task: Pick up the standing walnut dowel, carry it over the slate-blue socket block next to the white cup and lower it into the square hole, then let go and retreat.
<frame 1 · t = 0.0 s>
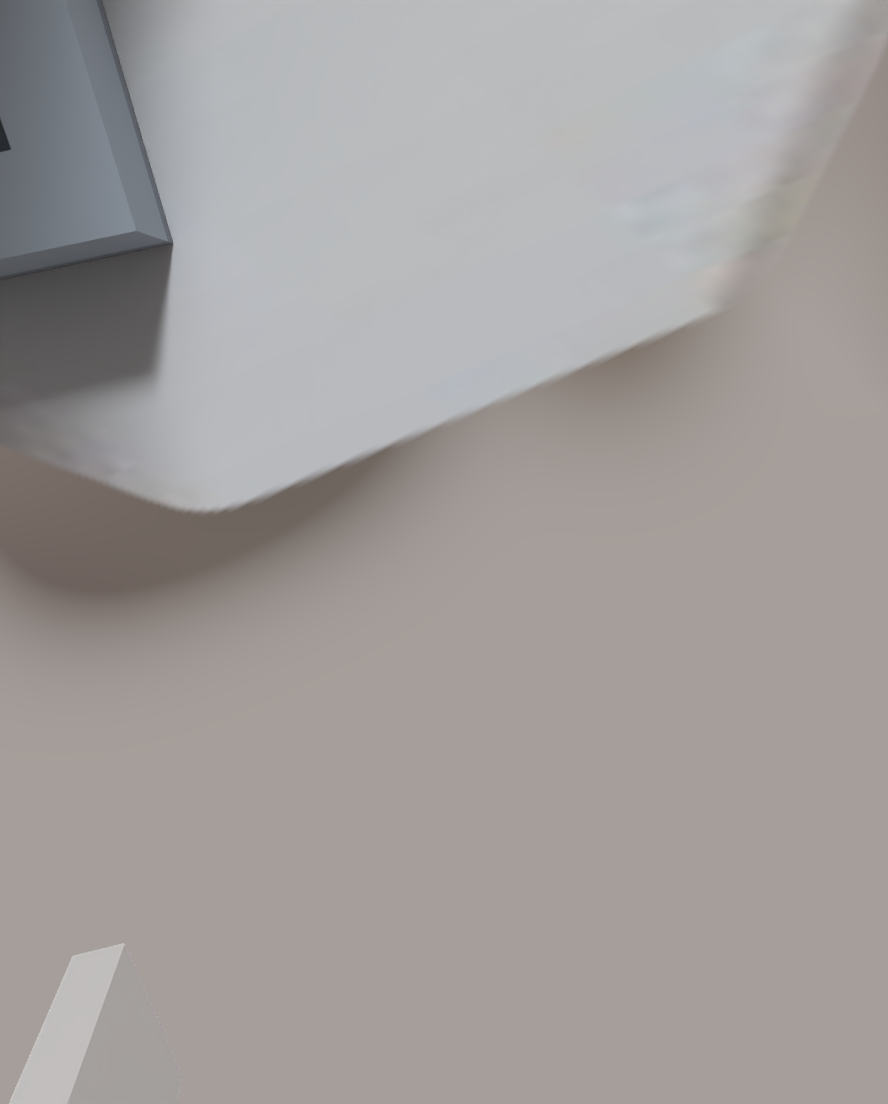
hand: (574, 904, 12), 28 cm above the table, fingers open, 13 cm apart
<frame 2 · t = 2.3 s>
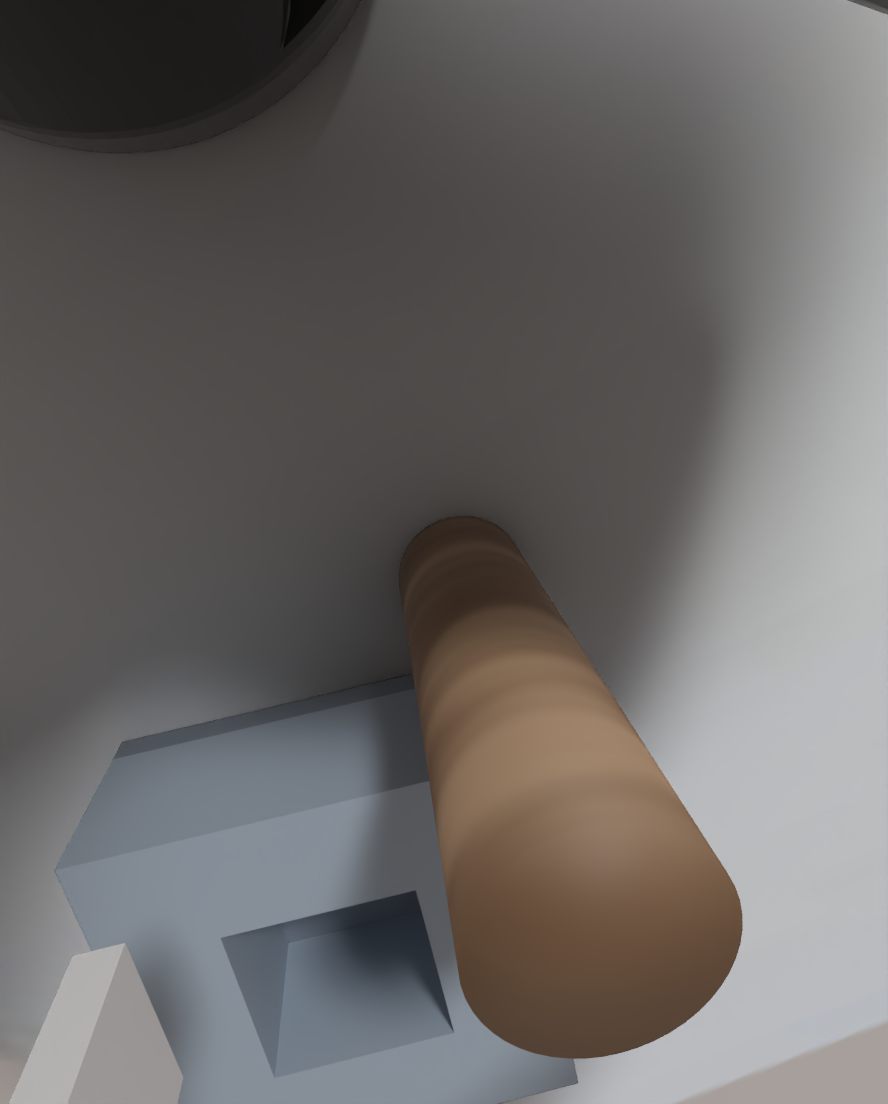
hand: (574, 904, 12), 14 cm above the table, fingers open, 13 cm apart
walnut dowel: (461, 576, 25), on the table
socket block: (345, 845, 27), on the table
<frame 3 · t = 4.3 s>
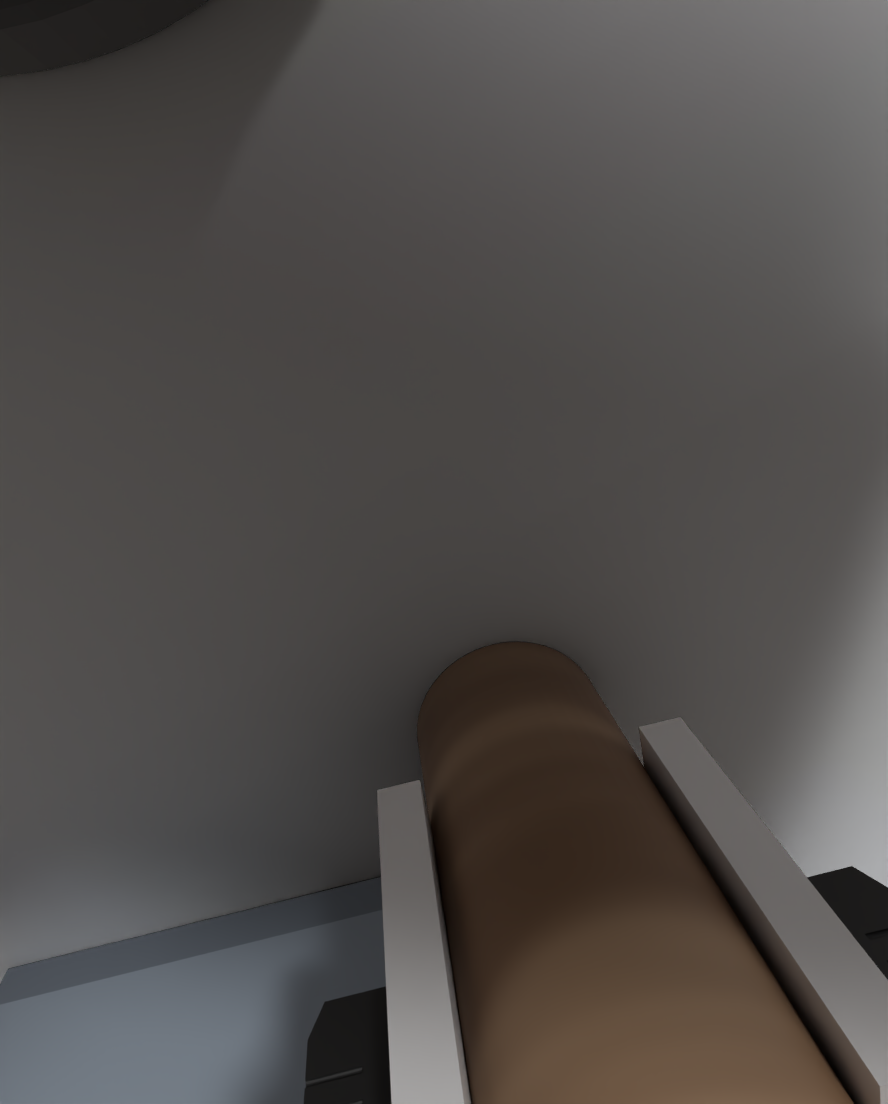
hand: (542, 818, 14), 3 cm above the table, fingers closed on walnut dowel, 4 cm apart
walnut dowel: (509, 726, 17), on the table, touching gripper
socket block: (338, 1090, 19), on the table
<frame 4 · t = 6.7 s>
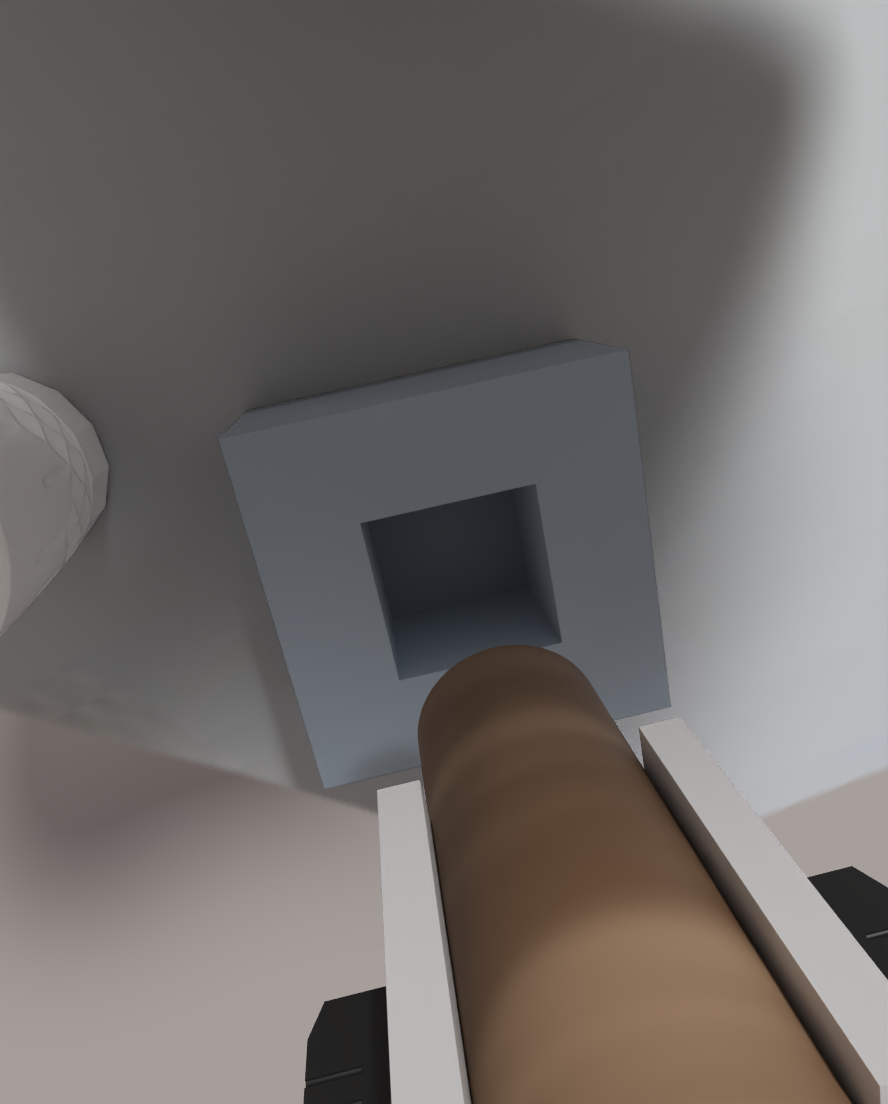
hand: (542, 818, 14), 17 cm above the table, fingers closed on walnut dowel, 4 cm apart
walnut dowel: (509, 729, 17), point 14 cm above the table, touching gripper
socket block: (444, 530, 30), on the table
white cup: (13, 466, 27), on the table
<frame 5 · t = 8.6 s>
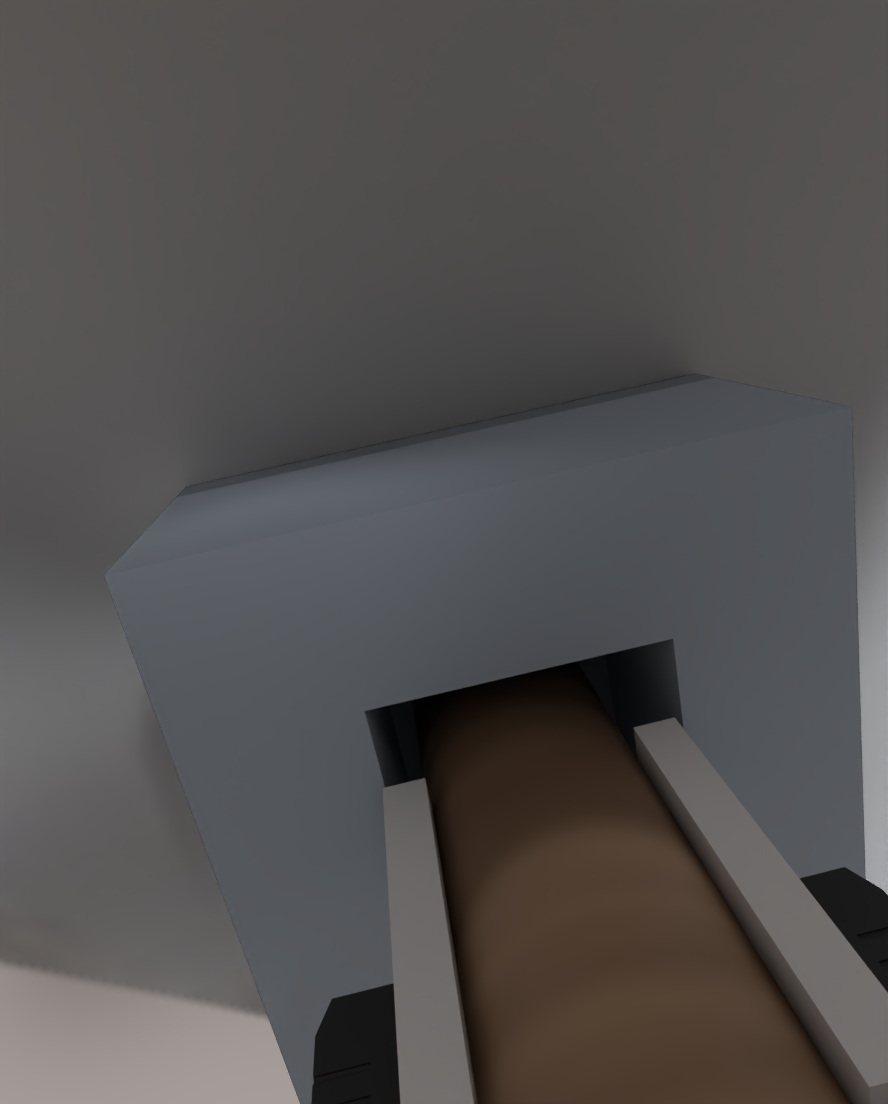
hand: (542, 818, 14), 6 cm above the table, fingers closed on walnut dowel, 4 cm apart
walnut dowel: (497, 695, 18), point 2 cm above the table, touching gripper
socket block: (490, 659, 20), on the table
when the fingers open (6 cm above the table, at t = 9.2 s): walnut dowel stays where it is, resting on socket block.
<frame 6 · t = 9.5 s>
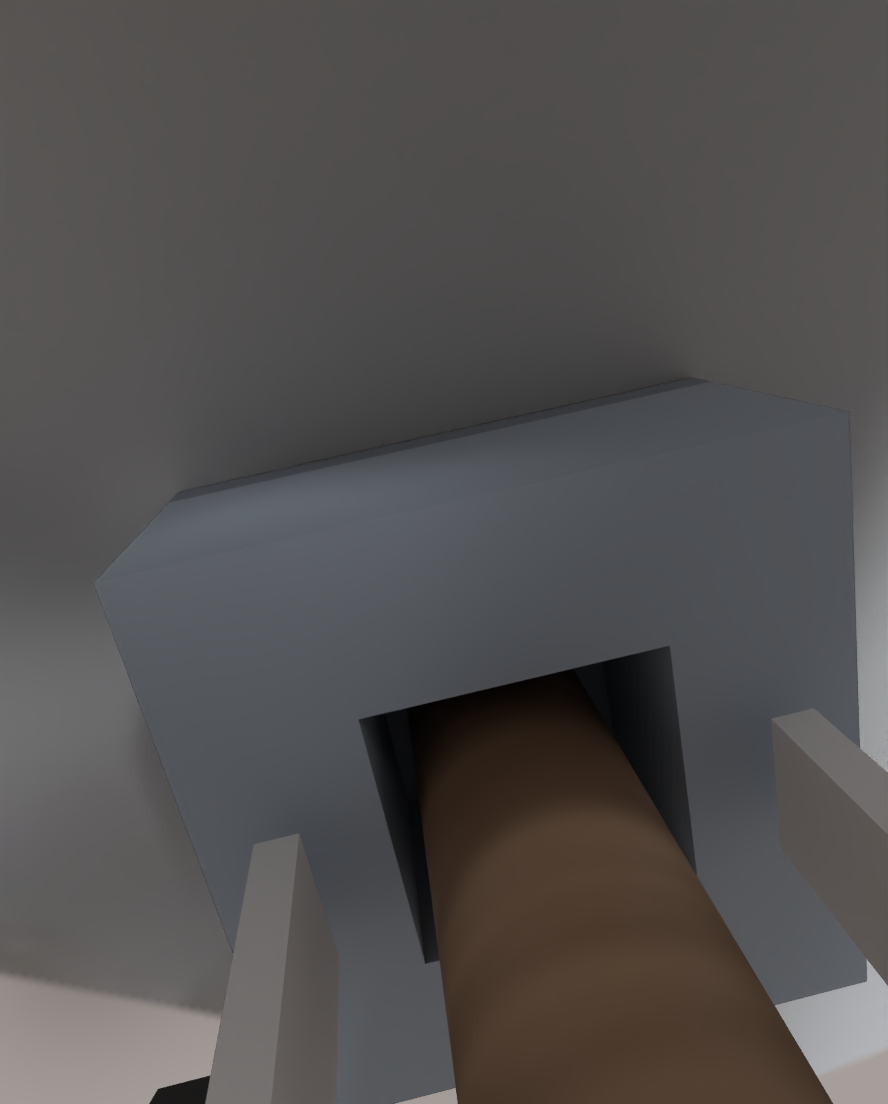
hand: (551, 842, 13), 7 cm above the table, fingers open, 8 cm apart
walnut dowel: (488, 688, 19), point 1 cm above the table, touching socket block
socket block: (486, 665, 19), on the table
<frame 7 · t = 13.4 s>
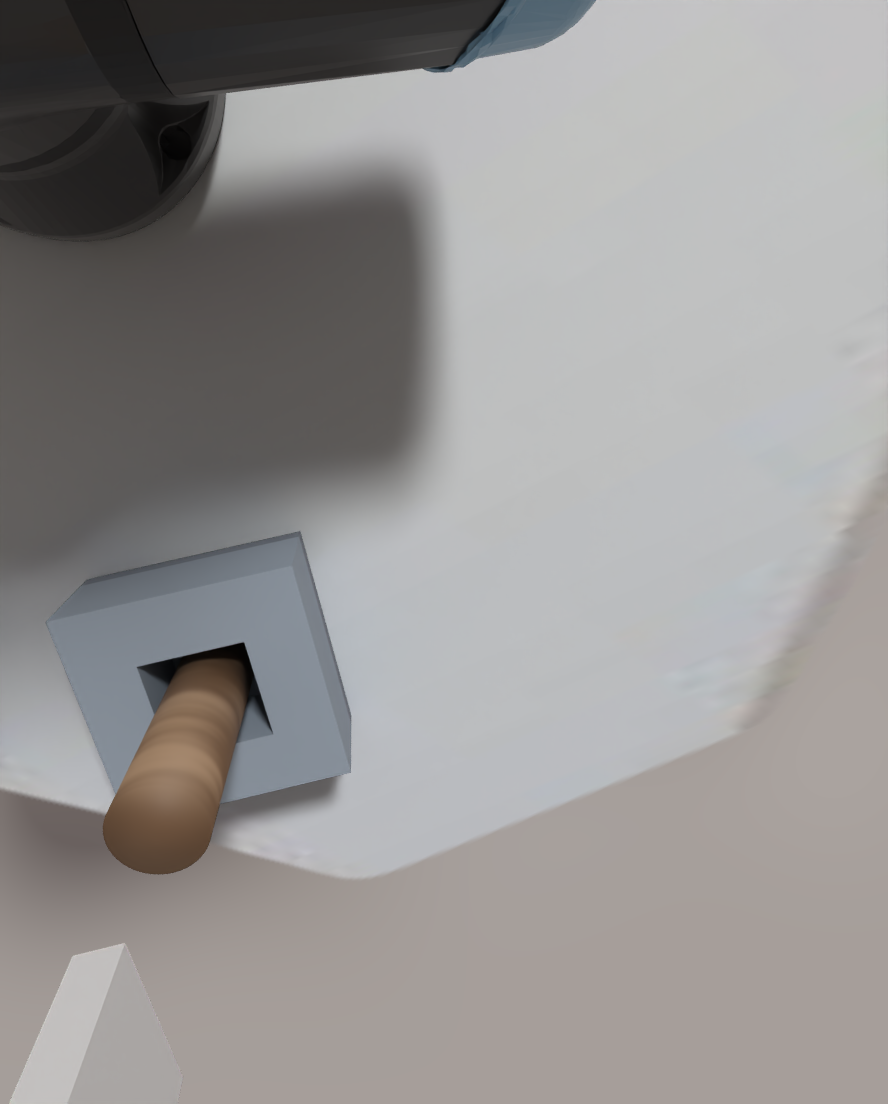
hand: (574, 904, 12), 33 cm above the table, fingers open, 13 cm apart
walnut dowel: (220, 660, 44), point 1 cm above the table, touching socket block
socket block: (225, 651, 45), on the table
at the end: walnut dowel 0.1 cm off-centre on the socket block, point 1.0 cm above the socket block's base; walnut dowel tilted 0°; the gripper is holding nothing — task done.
